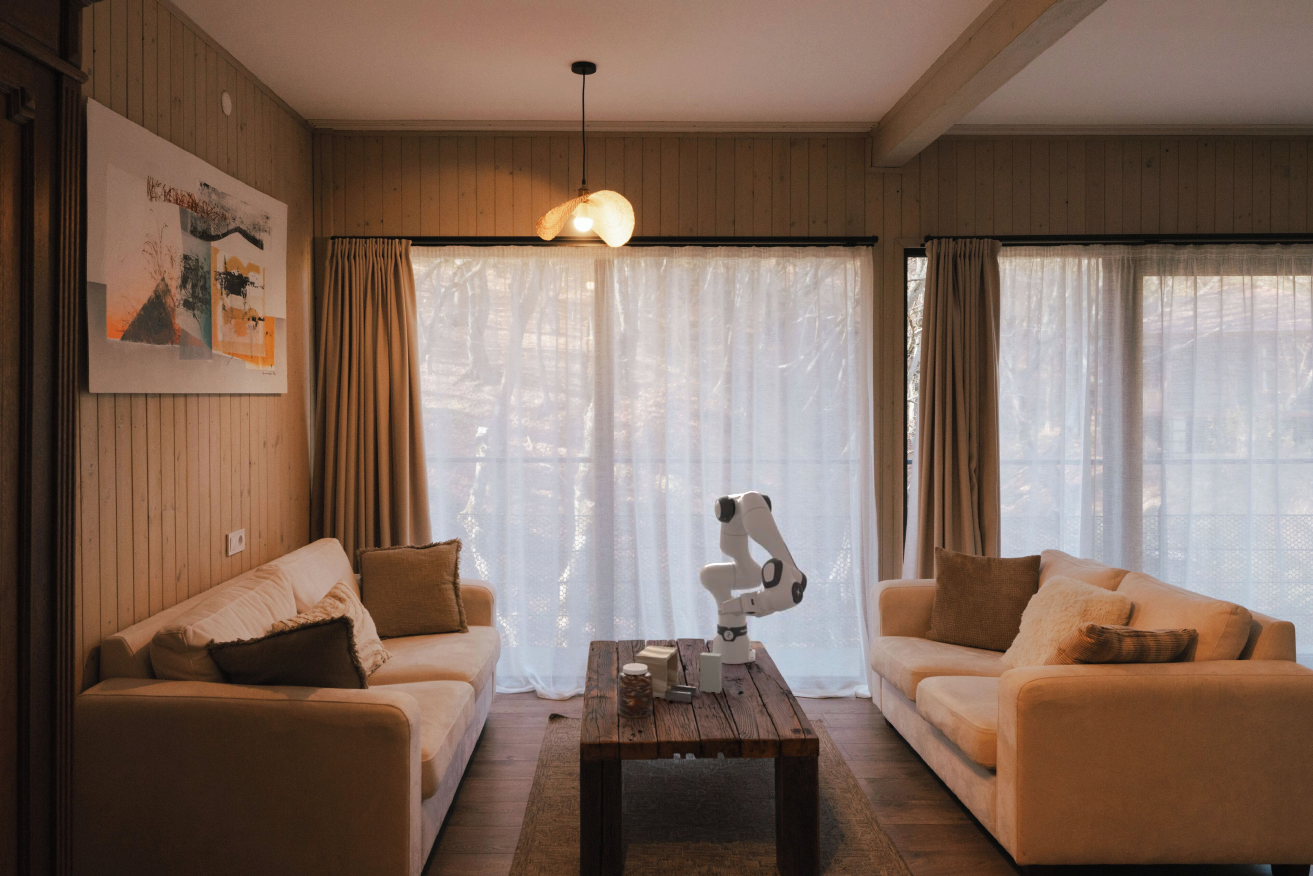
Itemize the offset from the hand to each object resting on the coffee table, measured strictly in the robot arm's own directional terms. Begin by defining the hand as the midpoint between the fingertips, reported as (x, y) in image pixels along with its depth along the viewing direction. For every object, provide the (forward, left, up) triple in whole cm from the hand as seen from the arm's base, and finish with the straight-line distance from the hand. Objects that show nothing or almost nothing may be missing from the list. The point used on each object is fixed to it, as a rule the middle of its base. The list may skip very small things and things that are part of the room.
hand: (727, 613), depth 295 cm
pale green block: (0, -6, -28) cm, 28 cm away
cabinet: (+6, -24, -28) cm, 37 cm away
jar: (+29, -24, -28) cm, 47 cm away
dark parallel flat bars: (+11, -14, -28) cm, 33 cm away
